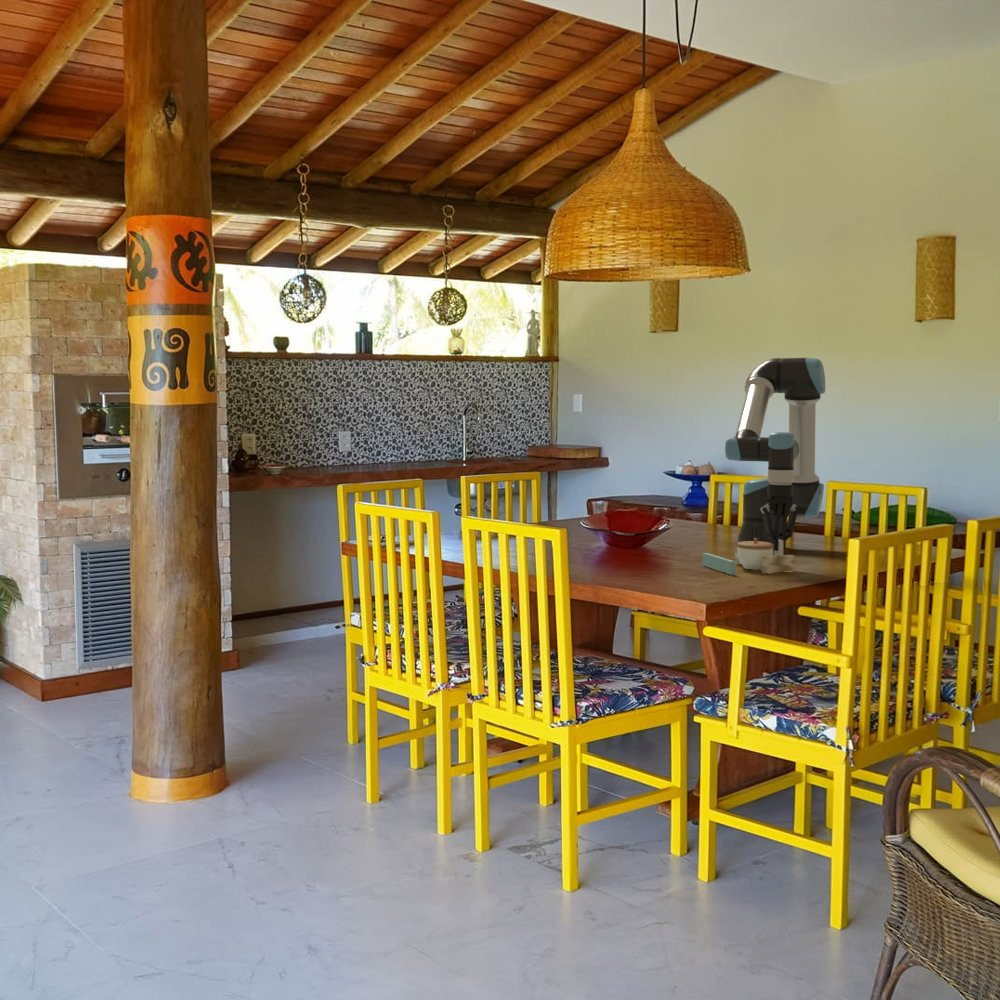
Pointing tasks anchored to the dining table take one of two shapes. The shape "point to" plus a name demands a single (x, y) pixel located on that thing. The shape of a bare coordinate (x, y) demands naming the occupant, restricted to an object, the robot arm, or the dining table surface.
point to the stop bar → (718, 563)
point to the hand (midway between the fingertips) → (778, 561)
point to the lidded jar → (753, 553)
